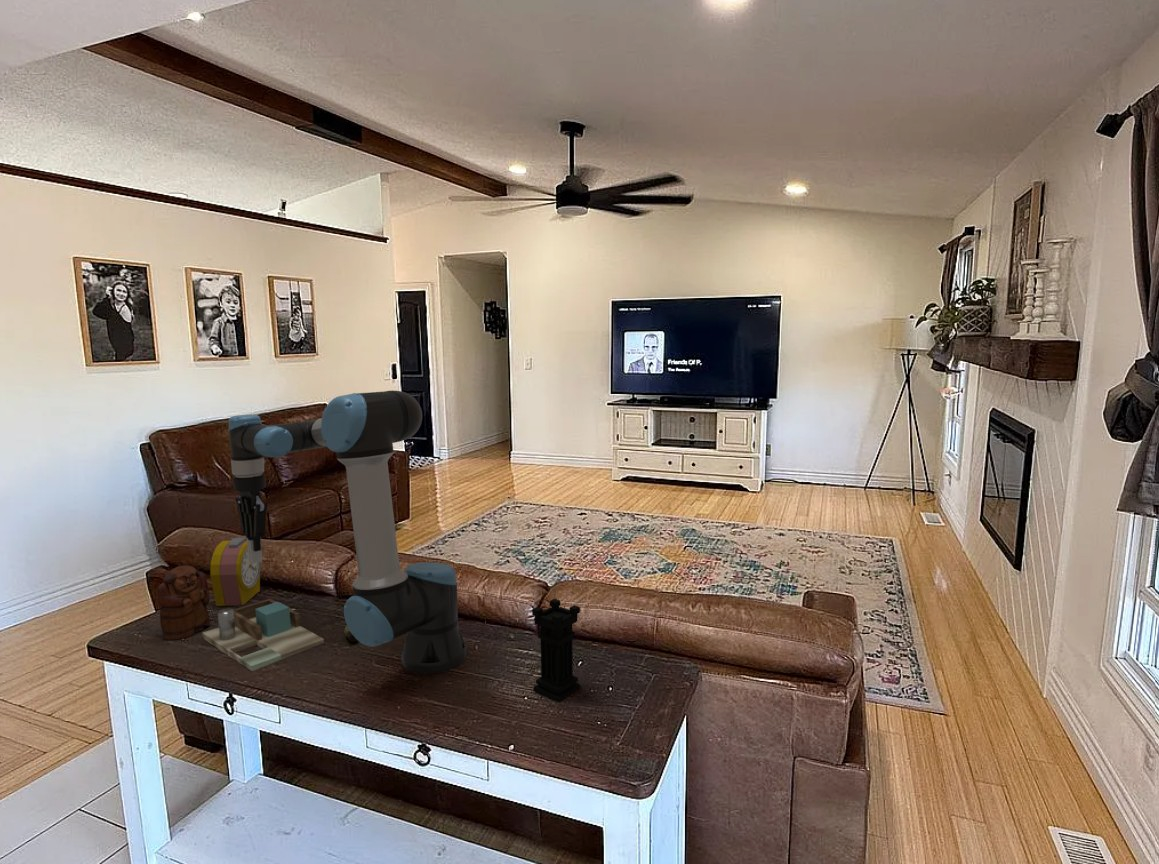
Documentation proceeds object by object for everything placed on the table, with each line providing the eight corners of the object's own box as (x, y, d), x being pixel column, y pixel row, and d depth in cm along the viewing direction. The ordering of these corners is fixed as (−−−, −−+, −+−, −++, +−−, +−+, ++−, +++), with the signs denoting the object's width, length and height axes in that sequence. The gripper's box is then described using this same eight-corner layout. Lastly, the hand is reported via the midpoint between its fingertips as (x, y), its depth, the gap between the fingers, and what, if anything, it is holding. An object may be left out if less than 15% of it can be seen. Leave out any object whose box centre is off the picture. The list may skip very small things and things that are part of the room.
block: (290, 629, 172) (289, 607, 171) (267, 637, 168) (266, 614, 167) (279, 623, 176) (278, 601, 175) (257, 630, 172) (255, 608, 171)
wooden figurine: (177, 643, 168) (170, 575, 166) (159, 639, 170) (152, 572, 168) (216, 624, 179) (211, 560, 176) (199, 621, 181) (193, 558, 179)
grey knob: (238, 636, 168) (235, 610, 167) (223, 641, 165) (220, 615, 164) (231, 632, 170) (229, 607, 169) (217, 637, 168) (214, 611, 167)
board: (324, 644, 167) (323, 638, 167) (252, 672, 153) (251, 666, 153) (271, 615, 185) (271, 610, 184) (202, 638, 171) (202, 632, 171)
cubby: (299, 625, 174) (299, 613, 174) (258, 640, 166) (257, 627, 165) (271, 610, 184) (270, 598, 184) (230, 623, 176) (229, 611, 175)
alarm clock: (242, 607, 190) (237, 546, 187) (213, 608, 190) (207, 547, 187) (264, 588, 205) (260, 531, 202) (237, 588, 204) (232, 531, 202)
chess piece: (555, 682, 148) (554, 597, 145) (583, 694, 143) (582, 606, 140) (530, 697, 142) (529, 609, 139) (558, 710, 137) (557, 619, 134)
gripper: (275, 475, 169) (282, 563, 173) (251, 469, 178) (258, 553, 181) (245, 480, 164) (253, 571, 167) (222, 473, 172) (229, 560, 176)
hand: (255, 561), depth 174 cm, fingers closed
